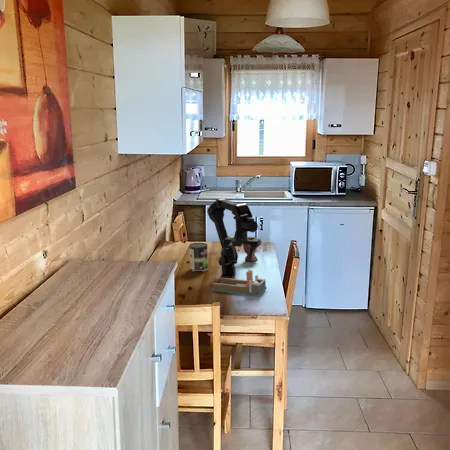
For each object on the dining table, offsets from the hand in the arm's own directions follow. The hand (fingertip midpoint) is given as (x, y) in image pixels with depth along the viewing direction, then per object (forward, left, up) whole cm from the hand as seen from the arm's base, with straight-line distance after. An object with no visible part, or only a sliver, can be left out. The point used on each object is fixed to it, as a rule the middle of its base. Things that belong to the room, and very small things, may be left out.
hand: (242, 258), depth 248 cm
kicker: (+4, -10, -12) cm, 16 cm away
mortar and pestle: (-11, +35, -13) cm, 39 cm away
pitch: (+2, -10, -13) cm, 17 cm away
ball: (+11, -10, -10) cm, 18 cm away
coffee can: (-32, +13, -13) cm, 37 cm away
